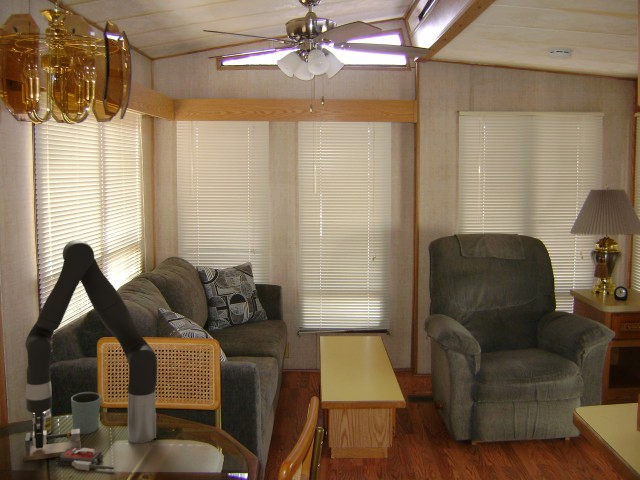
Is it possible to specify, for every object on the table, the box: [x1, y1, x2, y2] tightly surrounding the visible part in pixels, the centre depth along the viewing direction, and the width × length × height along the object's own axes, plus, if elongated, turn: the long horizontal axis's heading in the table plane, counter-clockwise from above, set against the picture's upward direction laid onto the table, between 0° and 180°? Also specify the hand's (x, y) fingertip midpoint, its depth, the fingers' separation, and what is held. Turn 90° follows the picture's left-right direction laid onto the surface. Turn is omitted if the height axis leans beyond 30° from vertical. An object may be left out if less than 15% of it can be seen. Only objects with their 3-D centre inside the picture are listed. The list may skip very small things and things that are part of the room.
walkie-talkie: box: [55, 447, 115, 471], centre depth 200 cm, size 9×4×20 cm
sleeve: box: [32, 430, 48, 446], centre depth 205 cm, size 4×3×3 cm
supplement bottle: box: [44, 408, 52, 435], centre depth 221 cm, size 5×5×8 cm
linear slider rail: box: [23, 428, 82, 462], centre depth 207 cm, size 17×7×7 cm, turn 111°
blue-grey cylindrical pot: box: [70, 391, 102, 435], centre depth 225 cm, size 10×10×12 cm
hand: (39, 444), depth 205 cm, fingers closed on sleeve, 3 cm apart
